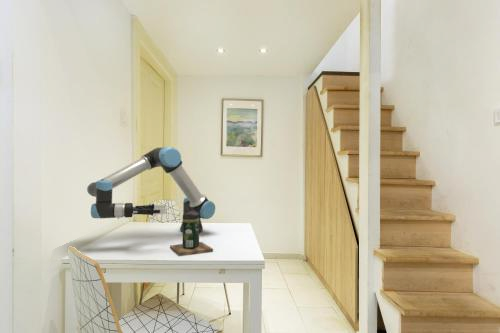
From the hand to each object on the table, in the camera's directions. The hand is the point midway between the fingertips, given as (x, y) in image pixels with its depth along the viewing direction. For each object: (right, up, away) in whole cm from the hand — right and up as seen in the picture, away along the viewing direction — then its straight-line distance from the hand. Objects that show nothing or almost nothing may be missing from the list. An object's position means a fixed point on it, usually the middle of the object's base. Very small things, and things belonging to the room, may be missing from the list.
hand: (166, 209), depth 164 cm
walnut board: (+14, -21, -4) cm, 26 cm away
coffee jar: (+14, -20, -3) cm, 24 cm away
